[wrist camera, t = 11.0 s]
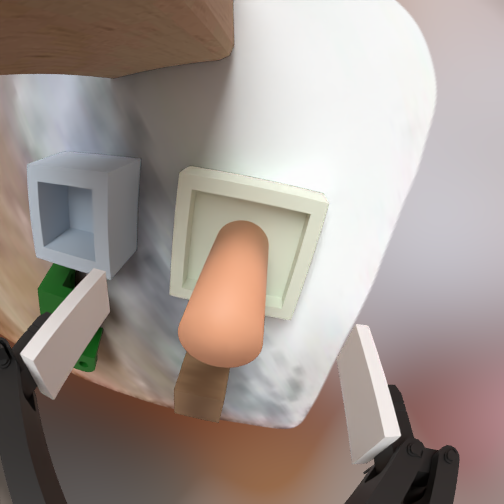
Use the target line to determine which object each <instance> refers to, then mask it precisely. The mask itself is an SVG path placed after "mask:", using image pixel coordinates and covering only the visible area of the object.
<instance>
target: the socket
mask: <svg viewBox="0 0 504 504" xmlns="http://www.w3.org/2000/svg"><path fill="white" fill-rule="evenodd" d="M140 167H141V159H139V158H131V157H122V156H113V155H103V154H93V153H81V152H67V151H64V152H61V153H58V154H55V155H52V156H49V157H46V158H43V159H40V160H37V161H34V162H32V163H29V164H27V181H28V197H29V208H30V218H31V226H32V233H33V240H34V246H35V252H36V257H38V258H41V259H44V260H47V261H50V262H53V263H56V264H59V265H62V266H65V267H68V268H72V269H75V270H78V271H81V272H85V273H88V274H89V273H90V272H91V270H92V269H93V268H95V269H99V270H103V271H106V279H109V280H111V279H112V278H113V277H114V276H115V275H116V273H117V272H118V271H119V270H120V269H121V267H122V266H123V265H124V264H125V263H126V262H127V261H128V259H129V258H130V257H131V256H132V255H133V254H134V253H135V251H136V250H137V219H138V196H139V180H140Z"/></svg>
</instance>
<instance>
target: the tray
mask: <svg viewBox="0 0 504 504" xmlns="http://www.w3.org/2000/svg"><path fill="white" fill-rule="evenodd" d="M328 206H329V202H328V201H327V199H326V197H325V195H324V194H323V193H320V192H316V191H312V190H308V189H303V188H299V187H295V186H291V185H286V184H282V183H277V182H273V181H268V180H264V179H259V178H254V177H249V176H244V175H239V174H234V173H229V172H223V171H218V170H212V169H206V168H200V167H194V166H188V167H187V168H185V169H184V170H182V171H181V172H179V179H178V187H177V197H176V206H175V217H174V229H173V241H172V256H171V274H170V295H171V296H175V297H180V298H184V299H188V300H190V297H191V295H192V292H193V290H194V288H195V285H196V283H197V281H198V278H199V276H200V273H201V271H202V269H203V266H204V264H205V262H206V259H207V257H208V255H209V253H210V250H211V248H212V246H213V243H214V241H215V239H216V237H217V234H218V233H219V231H220V230H221V228H222V227H223V226H225V225H226V224H228V223H230V222H233V221H238V220H244V221H249V222H252V223H254V224H256V225H258V226H259V227H260V228H261V229H262V230H263V231H264V232H265V234H266V236H267V238H268V243H269V250H268V268H267V285H266V302H265V316H269V317H274V318H280V319H285V320H291V318H292V315H293V313H294V310H295V307H296V304H297V301H298V299H299V296H300V293H301V290H302V287H303V284H304V281H305V278H306V275H307V273H308V270H309V267H310V264H311V261H312V257H313V254H314V251H315V248H316V245H317V242H318V239H319V236H320V232H321V229H322V226H323V223H324V219H325V216H326V213H327V210H328Z"/></svg>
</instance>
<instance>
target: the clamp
mask: <svg viewBox="0 0 504 504" xmlns="http://www.w3.org/2000/svg"><path fill="white" fill-rule="evenodd" d="M74 289H75V269H72V268H68V267H65V266H62V265H59V264H56V263H53V265H52V266H51V268H50V270H49V271H48V273H47V274H46V276H45V278H44V279H43V281H42V283H41V284H40V286H39V288H38V297H39V306H40V313H41V315H42V314H44V313H45V312H49V313H51V314H52V313H53V312H54V311H55V310H56V309H57V308H58V306H59V305H60V304H61V303H62V302H63V301H64V300H65V299H66V297H67V296H68V295H69V294H70V293H71V292H72V291H73V290H74ZM102 332H103V328H101V327H99V329H98V330H97V332H96V333H95V335H94V336H93V338H92V339H91V341H90V342H89V344H88V345H87V347H86V348H85V350H84V351H83V353H82V354H81V356H80V358H79V359H78V361H77V362H76V364H75V366H74V367H73V368H75V369H78V370H82V371H85V372H92V371H94V370H95V366H96V362H97V351H98V347H99V343H100V339H101V335H102Z"/></svg>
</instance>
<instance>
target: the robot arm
mask: <svg viewBox="0 0 504 504" xmlns="http://www.w3.org/2000/svg"><path fill="white" fill-rule="evenodd" d="M109 313H110V306H109V298H108V290H107V280H106V271H103V270H99V269H95V268H93V269H92V270H91V272H90V273H89V274H88V275H87V276H86V277H85V278H84V279H83V280H82V281H81V282H80V283H79V284H78V285H77V286H76V287H75V289H74V290H73V291H72V292H71V293H70V294H69V295H68V296H67V297H66V299H65V300H64V301H63V302H62V303H61V304H60V305H59V306H58V308H57V309H56V310H55V311H54V312H53V313H52V314H51V313H49V312H45V313H44V314H42V315H40V316H39V317H38V318H37V319H36V320H35V321H34V322H33V323H32V325H31V326H30V327H29V328H28V330H27V331H26V332H25V333H24V334H23V335H22V336H21V338H20V339H19V340H18V341H17V343H16V344H15V345H14V347H13V348H12V349H11V347H10V345H9V343H8V341H7V340H6V339H4V338H2V337H0V455H1V460H2V465H3V469H4V473H5V477H6V481H7V485H8V488H9V492H10V495H11V498H12V502H13V504H67V502H66V500H65V497H64V494H63V492H62V489H61V487H60V485H59V481H58V479H57V476H56V473H55V470H54V467H53V464H52V461H51V457H50V454H49V451H48V447H47V444H46V440H45V436H44V432H43V428H42V424H41V419H40V414H39V409H38V404H37V398H36V394H35V391H34V390H35V388H36V387H38V388H39V390H40V392H41V393H42V394H44V395H46V396H48V397H49V398H51V399H53V400H54V399H55V397H56V395H57V393H58V392H59V390H60V389H61V387H62V385H63V384H64V382H65V380H66V379H67V377H68V375H69V374H70V372H71V370H72V369H73V367H74V366H75V364H76V362H77V361H78V359H79V358H80V356H81V354H82V353H83V351H84V350H85V348H86V347H87V345H88V344H89V342H90V341H91V339H92V338H93V336H94V335H95V333H96V332H97V330H98V329H99V327H100V326H101V324H102V323H103V321H104V320H105V318H106V317H107V315H108V314H109ZM336 360H337V366H338V370H339V377H340V383H341V389H342V395H343V401H344V407H345V415H346V422H347V428H348V436H349V444H350V452H351V460H352V464H364V463H368V462H369V461H371V460H372V459H373V458H374V462H375V464H374V465H373V466H371V467H370V468H368V469H367V470H366V471H365V472H364V474H366V473H367V472H368V473H367V474H366V476H365V477H364V479H363V480H362V481H361V483H360V484H359V485H358V487H357V488H356V489H355V491H354V492H353V494H352V495H351V496H350V497H349V499H348V500H347V501H346V502H345V504H453V501H454V495H455V490H456V483H457V476H458V468H459V454H458V451H457V450H456V449H455V448H454V447H452V446H449V445H446V446H444V447H442V448H441V449H440V450H433V449H429V448H425V447H424V445H423V443H422V442H420V441H419V440H418V439H415V438H414V436H413V433H412V429H411V425H410V422H409V418H408V415H407V412H406V408H405V404H403V403H404V401H403V398H402V395H401V392H400V391H399V390H398V388H397V387H396V386H395V385H387V382H386V378H385V375H384V372H383V369H382V365H381V362H380V359H379V356H378V353H377V350H376V347H375V344H374V341H373V338H372V335H371V332H370V329H369V327H368V326H366V325H359V324H355V326H354V328H353V330H352V332H351V334H350V336H349V337H348V339H347V341H346V343H345V345H344V347H343V348H342V350H341V352H340V354H339V355H338V357H337V359H336Z"/></svg>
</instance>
